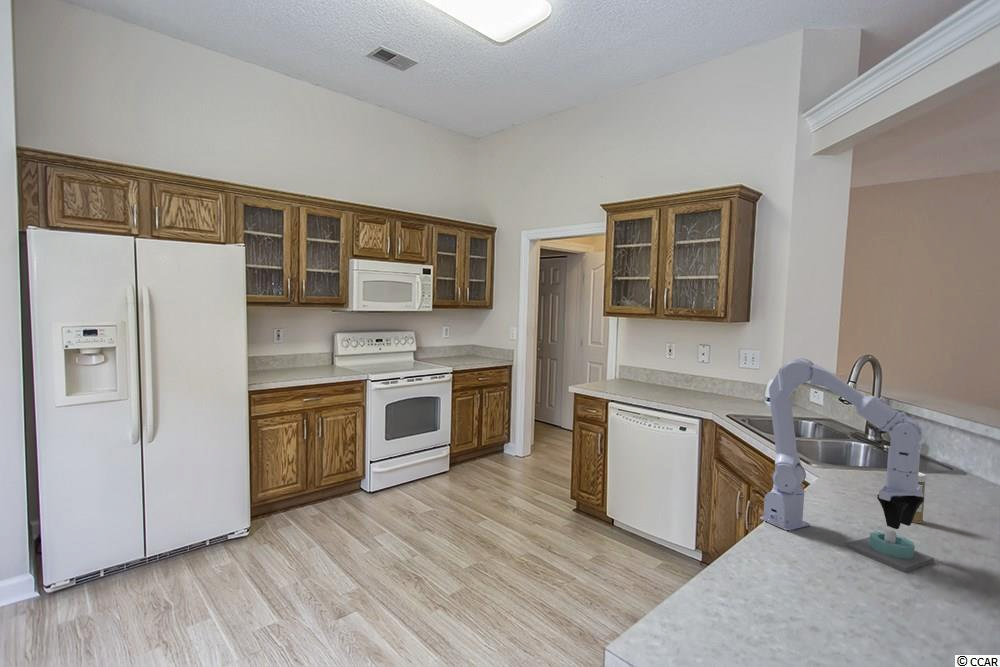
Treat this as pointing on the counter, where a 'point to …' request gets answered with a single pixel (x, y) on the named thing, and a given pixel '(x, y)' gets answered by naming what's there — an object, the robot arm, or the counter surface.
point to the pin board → (898, 563)
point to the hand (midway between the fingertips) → (898, 525)
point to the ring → (892, 545)
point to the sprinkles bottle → (919, 513)
